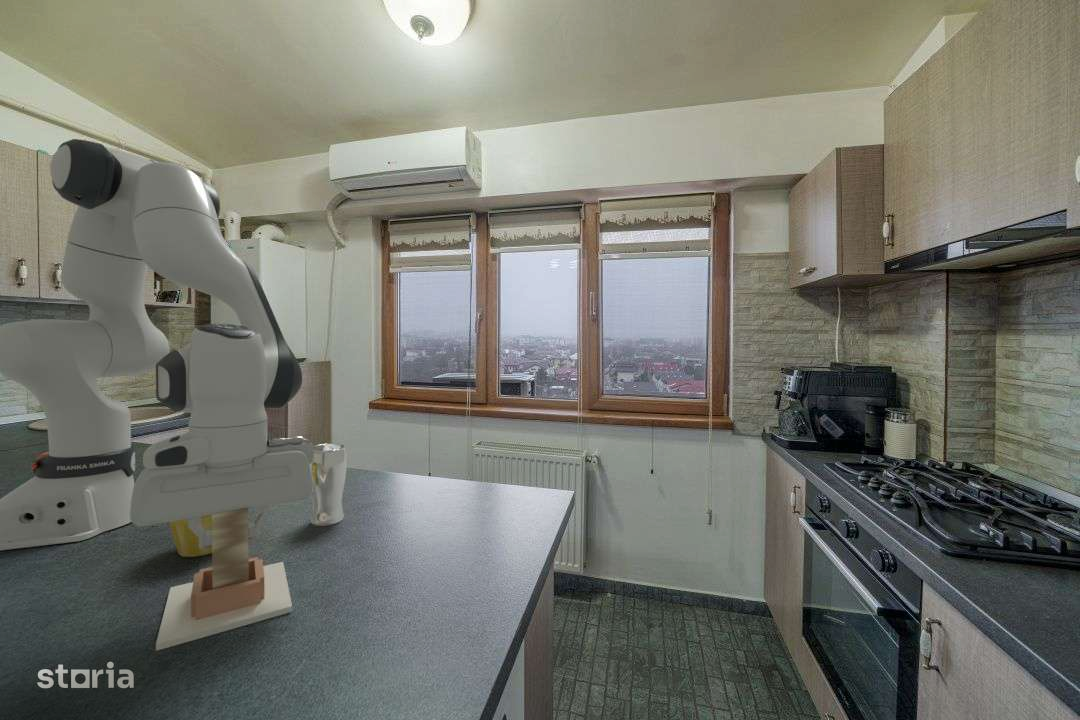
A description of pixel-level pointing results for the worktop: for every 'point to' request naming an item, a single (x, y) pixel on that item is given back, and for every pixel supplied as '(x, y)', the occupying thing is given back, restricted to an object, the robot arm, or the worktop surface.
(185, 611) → the framed base plate
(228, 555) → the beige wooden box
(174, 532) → the plant pot
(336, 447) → the beer glass
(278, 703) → the worktop surface
